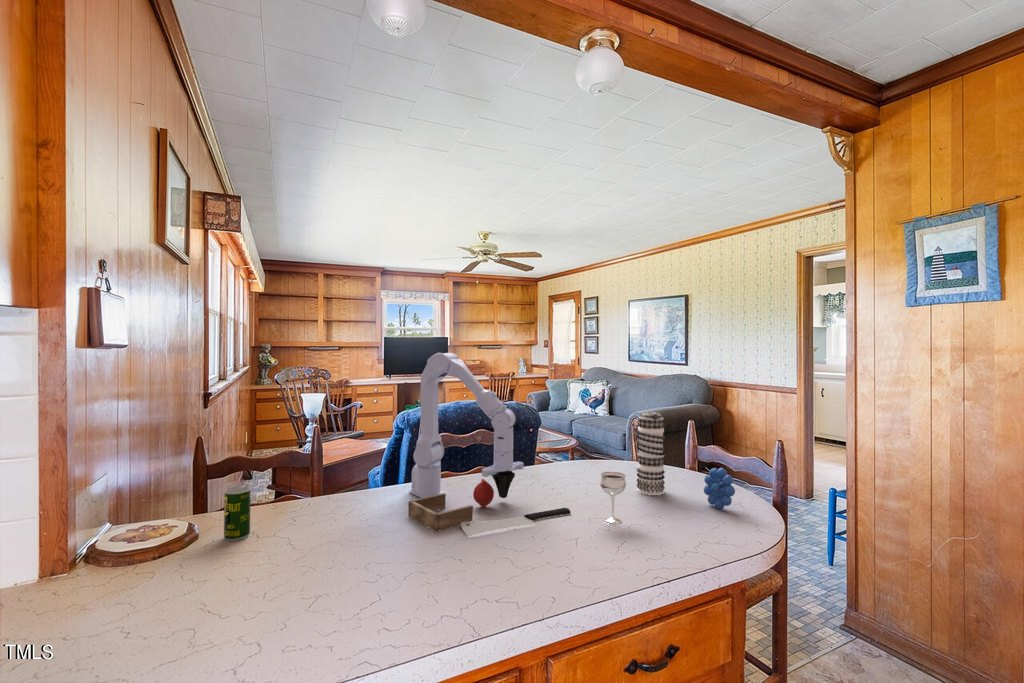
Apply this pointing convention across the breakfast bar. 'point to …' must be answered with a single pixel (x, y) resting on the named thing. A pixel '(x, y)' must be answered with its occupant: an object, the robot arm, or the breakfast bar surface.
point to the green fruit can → (237, 512)
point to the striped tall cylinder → (650, 454)
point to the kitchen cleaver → (509, 521)
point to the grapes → (719, 488)
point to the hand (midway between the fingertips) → (502, 497)
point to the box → (425, 513)
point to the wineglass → (613, 488)
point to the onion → (483, 493)
